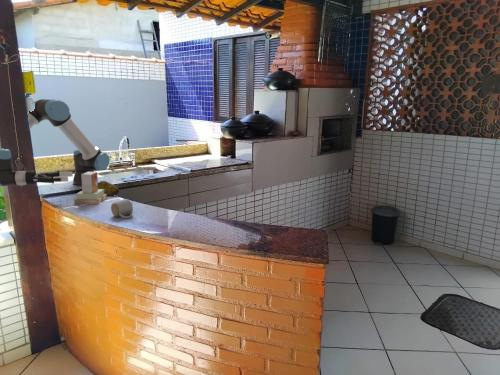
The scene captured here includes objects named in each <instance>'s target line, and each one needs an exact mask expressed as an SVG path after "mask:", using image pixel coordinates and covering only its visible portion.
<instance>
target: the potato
mask: <svg viewBox="0 0 500 375" xmlns="http://www.w3.org/2000/svg"><path fill="white" fill-rule="evenodd" d="M98 189H104V194H107V196H114V195H115V196H116V195H118V194H119V192H120V190H119V188H118V187H117V186H116V185H114V184H112V183H110V182H108V181H106V180H101V181H98Z"/></svg>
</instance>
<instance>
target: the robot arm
mask: <svg viewBox="0 0 500 375" xmlns="http://www.w3.org/2000/svg"><path fill="white" fill-rule="evenodd" d="M33 103H35V109H34V111H32V112H30V111H29V113H28V118H29V125H30V130H31V129H32V128H33V126H37V125H39V124H40V123H41V122H43V121H46V120H47V121H48V122H49V123H50V124H51V125H52V126H53V127H55V128H58V129H59V130H60V131H61V132H62V133H63V135H65V137H66V138H67V139H68V140H69V141H70V142H71V143H72V145H73V146H75V148H76V150H74V151H73V164H74V175H73V171H60V170H57V171H50V172H49V171H48V172H39V173H36V171H35V170H16V171H15V170H14V169H13V168H14V167H13V161H12V159H13V158H12V157H13V156H12V153H11V149H10V150H9V149H4V148H2V149H0V187H11V186H20V187H23V186H26V185H28V186H32V185H33V186H34V185H35V186H36V184H37V183H46V184H55V183H62V182H67V183H68V182H69V177H73V179H72V183H73V185H76V186H82V177H81V174H84V173H86V172H95V171H105V170H106V169H108V167H109V165H110V161H111V159H110V156H109V154H107V153H106V152H103V151H102V150H101V149H100V148H99V147H98V146H94V145H93V143H92V142H91V141H90V140H89V139H88V137H86V135H85V134H84V133H83V132H82V130H81V129H80V128H79V127H78V125H76V123H75V122H74V121H73V120H72V119H71V118H72V114H71V112H70V107H69V106H68V104H67V103H66V102H65V101H63V100H60V99H56V98H55V99H54V98H53V99H49V98H48V99H47V98H44V99H43V98H42V99H38V100H36V101H34V102H33Z"/></svg>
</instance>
